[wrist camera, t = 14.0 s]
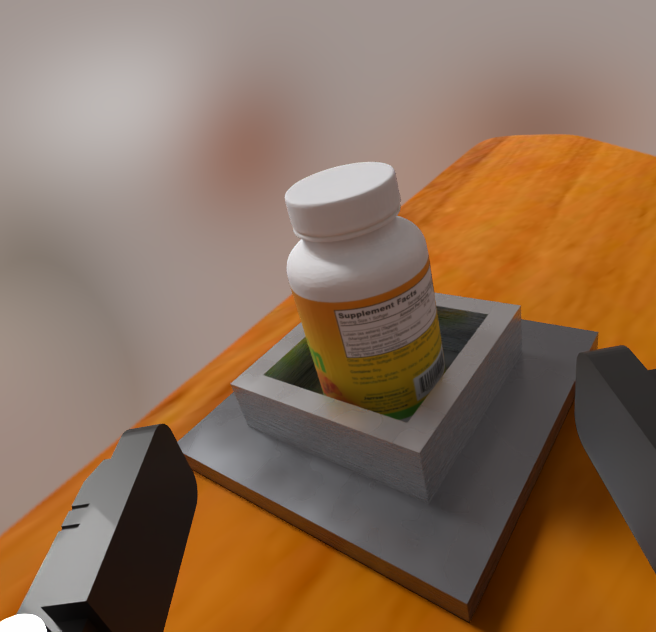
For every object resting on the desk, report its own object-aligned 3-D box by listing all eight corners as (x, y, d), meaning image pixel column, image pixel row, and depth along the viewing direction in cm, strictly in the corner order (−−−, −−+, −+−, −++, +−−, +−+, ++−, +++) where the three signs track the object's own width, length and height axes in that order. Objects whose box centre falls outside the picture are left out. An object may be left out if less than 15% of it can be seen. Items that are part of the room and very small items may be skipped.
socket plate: (351, 304, 32) (339, 254, 30) (597, 349, 24) (601, 284, 22) (179, 462, 24) (149, 405, 22) (470, 623, 15) (458, 551, 13)
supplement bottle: (323, 369, 25) (265, 179, 21) (430, 344, 25) (398, 144, 20) (332, 448, 21) (260, 226, 16) (464, 418, 20) (432, 183, 16)
